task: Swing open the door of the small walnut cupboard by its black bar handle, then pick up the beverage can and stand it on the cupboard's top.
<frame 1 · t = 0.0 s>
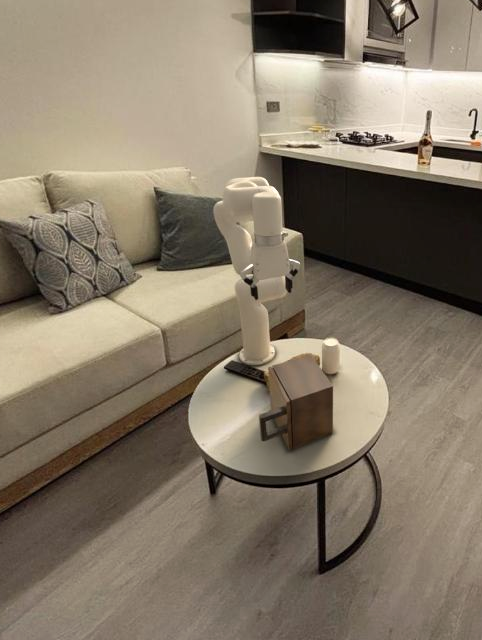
hand: (272, 294, 117), 37 cm above the table, tool pointing down, fingers open, 9 cm apart
cupboard: (303, 421, 121), on the table
sponge: (294, 379, 139), on the table
beverage can: (330, 370, 144), on the table
door: (268, 411, 113), point 9 cm above the table, hinge at 0.0°
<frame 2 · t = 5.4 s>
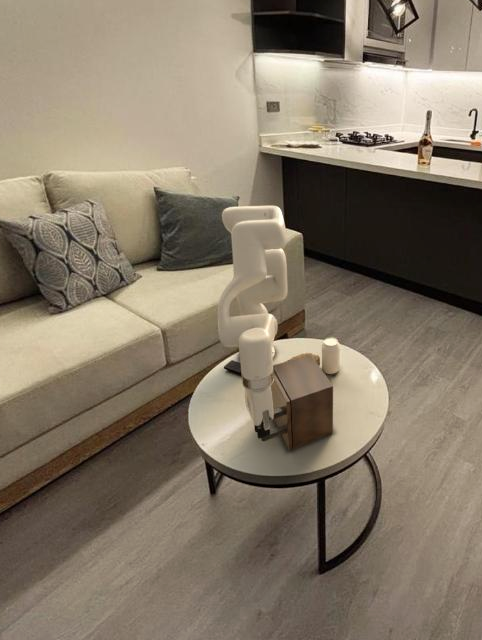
hand: (262, 432, 107), 8 cm above the table, tool pointing down, fingers closed on door
door: (268, 411, 113), point 9 cm above the table, hinge at 0.0°, touching gripper
everything else where it was.
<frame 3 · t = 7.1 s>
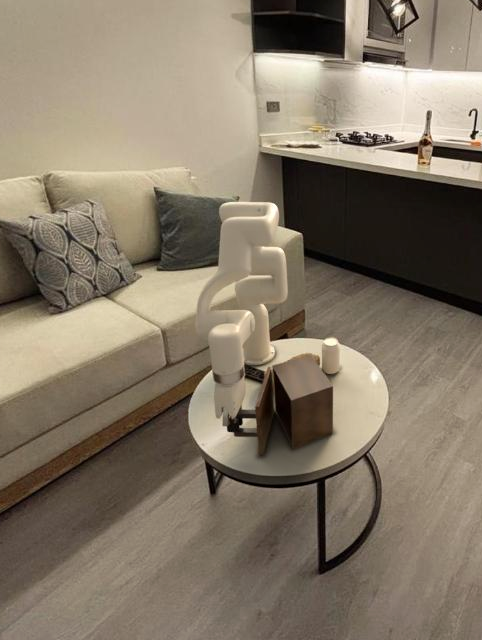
hand: (235, 427, 108), 8 cm above the table, tool pointing down, fingers closed on door
door: (253, 409, 113), point 9 cm above the table, hinge at 28.6°, touching gripper
everything else where it was.
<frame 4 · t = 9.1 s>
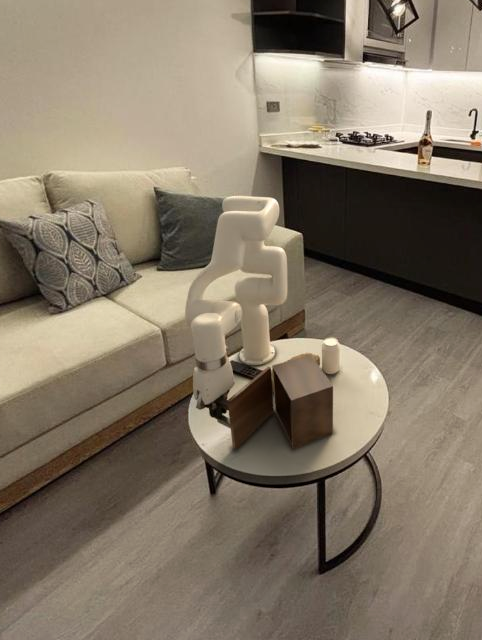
hand: (218, 413, 112), 8 cm above the table, tool pointing down, fingers closed
door: (243, 402, 116), point 9 cm above the table, hinge at 57.2°
everything else where it was.
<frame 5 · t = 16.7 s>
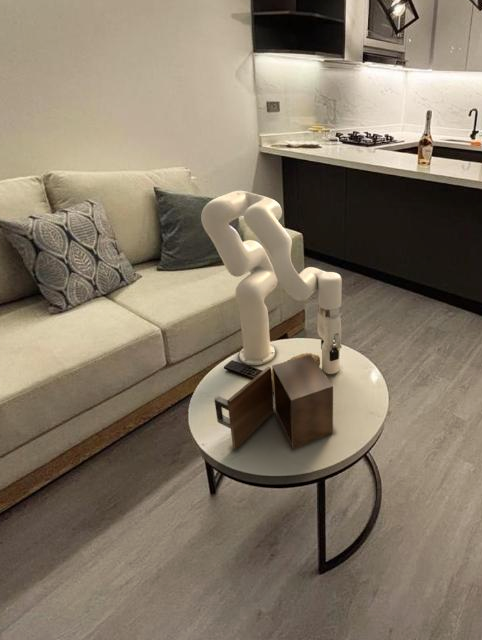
hand: (329, 353, 141), 7 cm above the table, tool pointing down, fingers closed on beverage can, 6 cm apart
beverage can: (330, 370, 144), on the table, touching gripper
everything else where it was.
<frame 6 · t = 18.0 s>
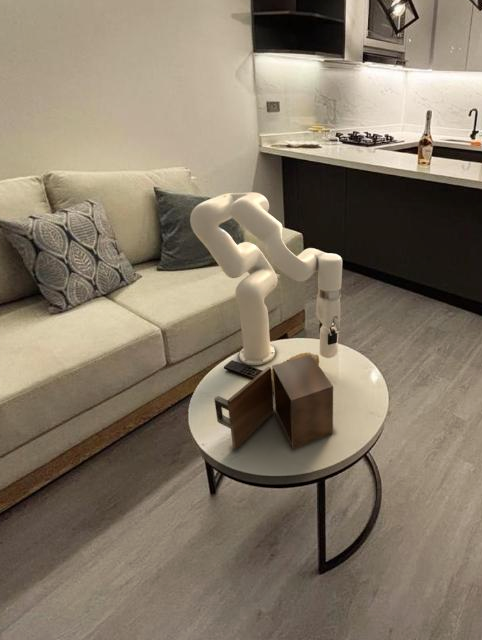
hand: (327, 337, 138), 14 cm above the table, tool pointing down, fingers closed on beverage can, 6 cm apart
beverage can: (328, 354, 141), point 6 cm above the table, touching gripper
everything else where it was.
when the fingers open (24 cm above the table, at t = 23.1 s): beverage can stays where it is, resting on cupboard.
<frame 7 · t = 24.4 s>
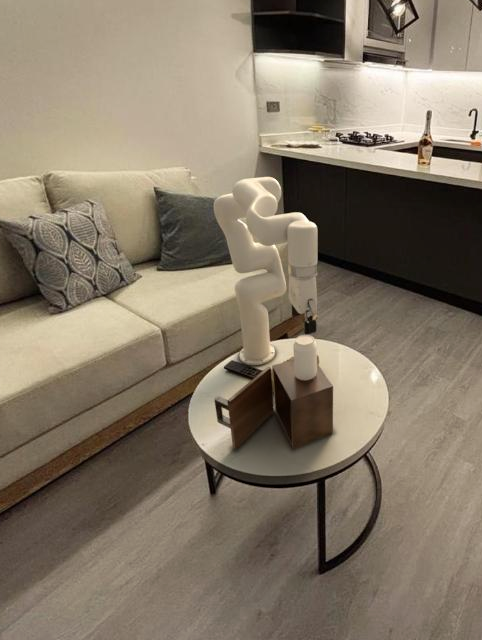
hand: (303, 323, 113), 31 cm above the table, tool pointing down, fingers open, 9 cm apart
beverage can: (305, 375, 115), point 17 cm above the table, touching cupboard
everything else where it was.
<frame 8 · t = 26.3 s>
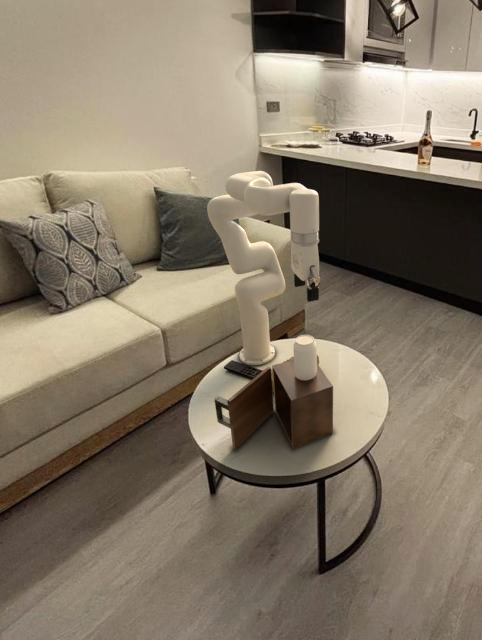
hand: (306, 292, 115), 38 cm above the table, tool pointing down, fingers open, 9 cm apart
nothing on the table moved.
at the end: door at +57° (first picture: +0°); beverage can inside the target area on the cupboard (1.1 cm from its centre), point 16.8 cm above the cupboard's base; beverage can tilted 0° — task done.
